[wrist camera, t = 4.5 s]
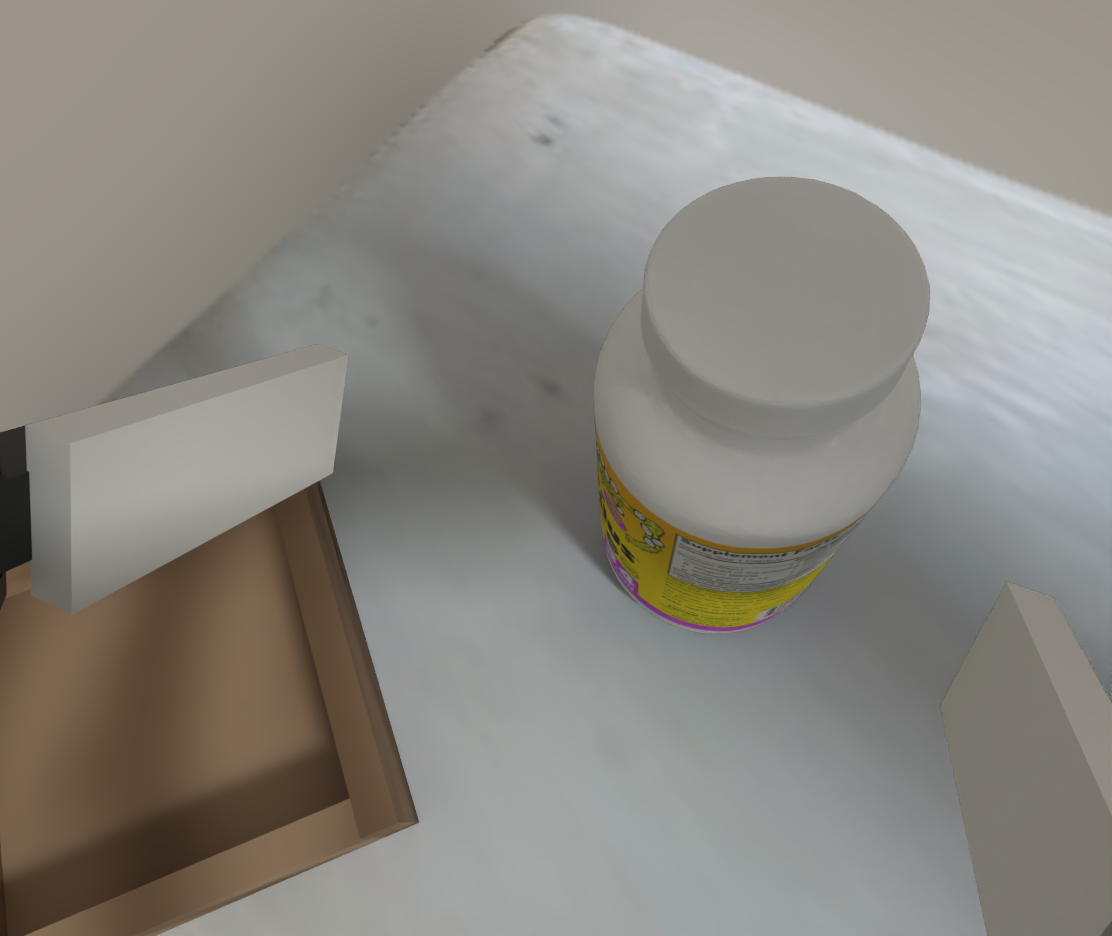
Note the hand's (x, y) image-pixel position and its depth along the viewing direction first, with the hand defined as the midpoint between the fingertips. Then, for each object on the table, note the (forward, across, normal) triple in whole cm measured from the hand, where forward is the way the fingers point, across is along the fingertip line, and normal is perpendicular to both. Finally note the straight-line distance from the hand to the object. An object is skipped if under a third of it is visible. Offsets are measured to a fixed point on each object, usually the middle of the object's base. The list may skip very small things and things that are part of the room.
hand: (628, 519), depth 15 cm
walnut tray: (+2, -12, -12) cm, 17 cm away
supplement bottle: (+9, +1, -4) cm, 10 cm away
